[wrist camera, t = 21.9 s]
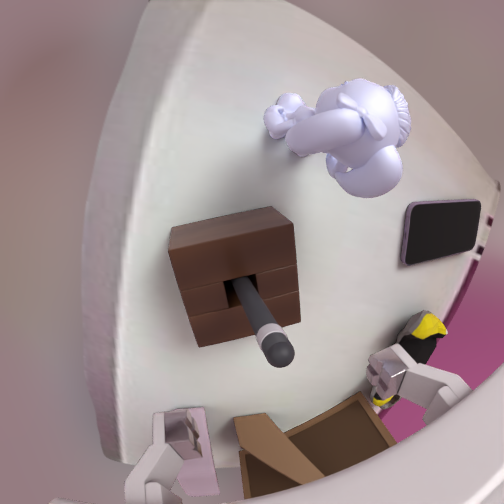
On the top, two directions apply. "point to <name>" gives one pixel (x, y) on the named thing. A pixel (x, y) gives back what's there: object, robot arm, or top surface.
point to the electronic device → (199, 463)
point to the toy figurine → (348, 133)
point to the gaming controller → (417, 342)
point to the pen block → (235, 271)
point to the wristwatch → (391, 402)
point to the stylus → (264, 324)
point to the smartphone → (439, 229)
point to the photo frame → (308, 446)
